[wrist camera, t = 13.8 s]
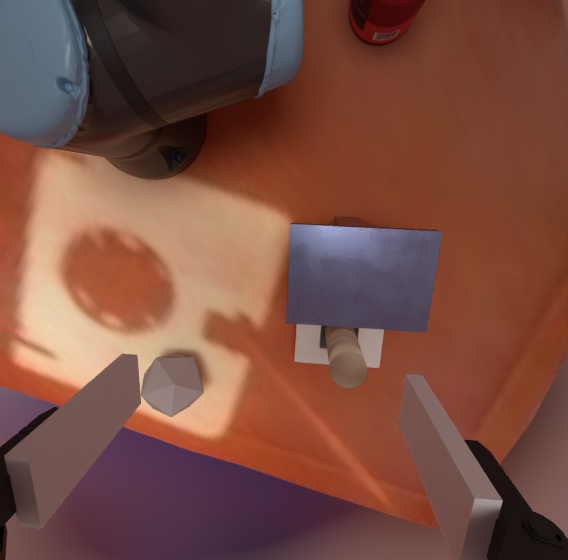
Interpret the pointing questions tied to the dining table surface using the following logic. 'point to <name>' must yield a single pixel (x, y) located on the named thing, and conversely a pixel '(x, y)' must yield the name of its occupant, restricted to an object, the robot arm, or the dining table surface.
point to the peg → (345, 357)
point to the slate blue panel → (361, 275)
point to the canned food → (382, 18)
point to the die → (172, 384)
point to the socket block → (315, 348)
